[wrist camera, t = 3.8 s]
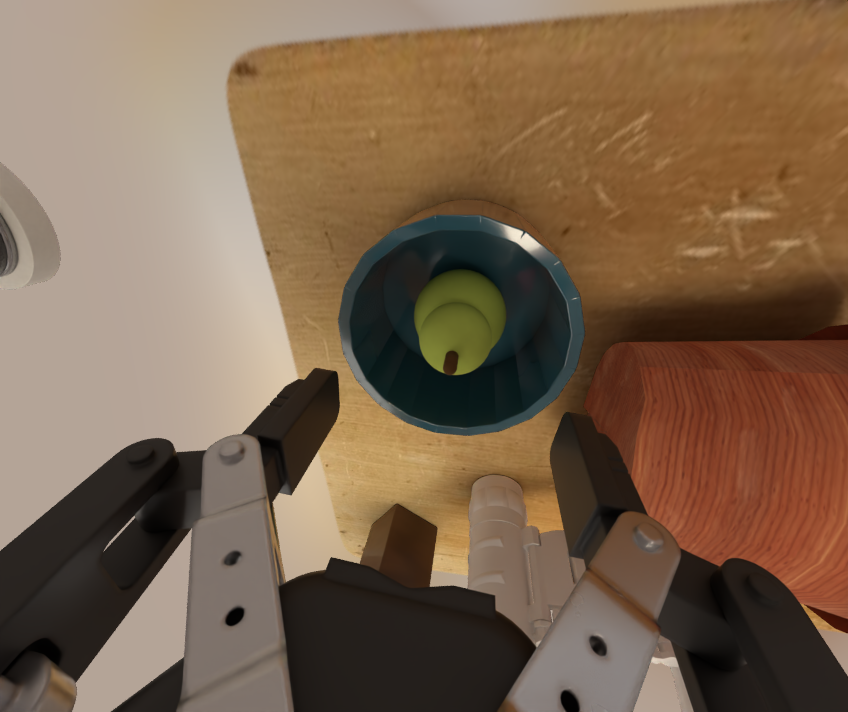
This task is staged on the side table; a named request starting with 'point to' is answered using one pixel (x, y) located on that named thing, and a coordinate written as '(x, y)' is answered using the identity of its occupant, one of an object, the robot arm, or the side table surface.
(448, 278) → the pear
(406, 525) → the pedestal
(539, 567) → the binoculars
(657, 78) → the side table surface
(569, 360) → the teal bowl
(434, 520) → the side table surface
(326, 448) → the side table surface
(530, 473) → the side table surface
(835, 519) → the potted plant
